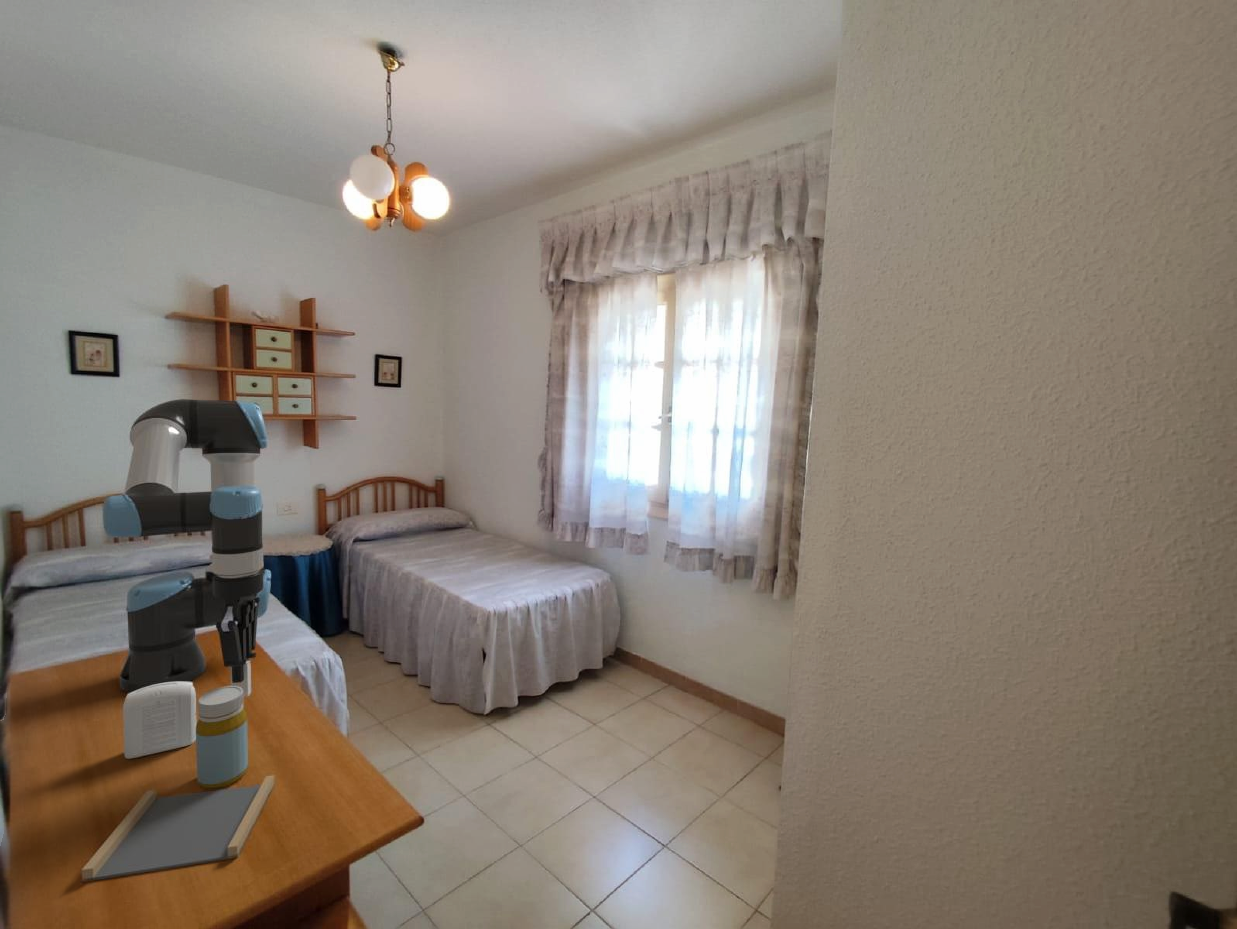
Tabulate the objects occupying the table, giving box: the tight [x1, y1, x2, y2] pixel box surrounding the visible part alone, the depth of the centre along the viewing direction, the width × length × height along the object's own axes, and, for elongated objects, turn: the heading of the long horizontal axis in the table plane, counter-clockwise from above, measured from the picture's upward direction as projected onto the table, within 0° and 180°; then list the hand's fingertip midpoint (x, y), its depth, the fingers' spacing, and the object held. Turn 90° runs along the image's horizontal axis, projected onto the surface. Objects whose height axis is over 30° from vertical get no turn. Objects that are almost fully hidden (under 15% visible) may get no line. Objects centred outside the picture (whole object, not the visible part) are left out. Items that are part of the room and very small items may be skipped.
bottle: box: [195, 685, 249, 790], centre depth 91 cm, size 7×7×15 cm
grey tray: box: [81, 775, 275, 883], centre depth 80 cm, size 15×18×2 cm
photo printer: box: [122, 681, 197, 760], centre depth 98 cm, size 10×4×12 cm, turn 123°
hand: (241, 695), depth 98 cm, fingers closed
